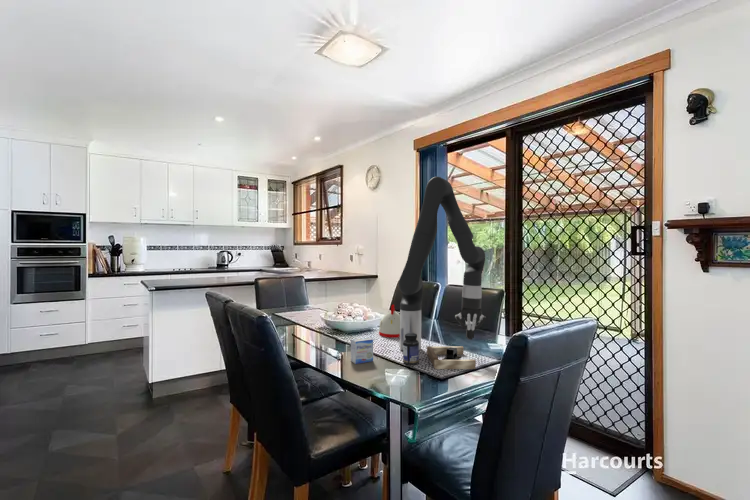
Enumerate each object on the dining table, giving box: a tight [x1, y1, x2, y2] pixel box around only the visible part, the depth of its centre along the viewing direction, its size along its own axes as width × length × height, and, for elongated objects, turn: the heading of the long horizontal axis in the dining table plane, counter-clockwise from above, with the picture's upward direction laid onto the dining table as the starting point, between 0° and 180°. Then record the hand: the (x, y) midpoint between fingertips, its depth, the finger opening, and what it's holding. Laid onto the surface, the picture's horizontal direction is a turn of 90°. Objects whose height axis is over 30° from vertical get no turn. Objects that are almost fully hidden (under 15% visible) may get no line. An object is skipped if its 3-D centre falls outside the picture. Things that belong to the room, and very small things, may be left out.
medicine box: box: [350, 337, 374, 365], centre depth 148 cm, size 8×4×9 cm, turn 117°
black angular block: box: [441, 347, 463, 360], centre depth 152 cm, size 12×7×5 cm, turn 146°
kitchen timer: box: [378, 304, 400, 339], centre depth 191 cm, size 14×14×15 cm
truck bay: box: [426, 345, 477, 370], centre depth 149 cm, size 15×19×4 cm
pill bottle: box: [402, 333, 420, 366], centre depth 146 cm, size 6×6×11 cm
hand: (469, 339), depth 152 cm, fingers closed
